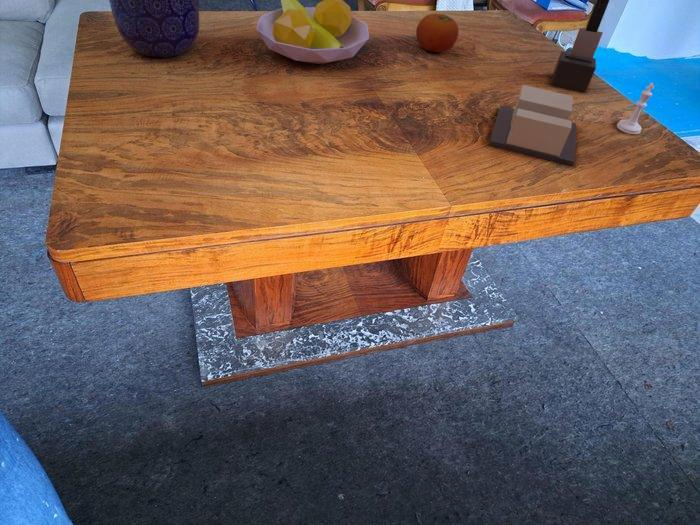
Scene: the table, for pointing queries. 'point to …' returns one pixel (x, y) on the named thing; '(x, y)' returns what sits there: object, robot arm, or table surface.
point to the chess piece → (636, 114)
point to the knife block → (572, 73)
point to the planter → (157, 25)
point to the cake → (544, 102)
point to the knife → (587, 40)
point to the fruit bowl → (313, 31)
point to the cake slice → (539, 132)
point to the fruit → (437, 32)
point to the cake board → (500, 141)
